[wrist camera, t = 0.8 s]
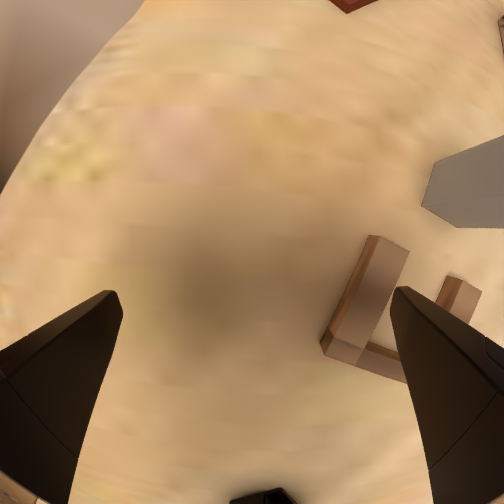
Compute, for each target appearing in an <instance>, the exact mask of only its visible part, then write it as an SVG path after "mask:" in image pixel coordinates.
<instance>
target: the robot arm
mask: <svg viewBox="0 0 504 504" xmlns="http://www.w3.org/2000/svg"><path fill="white" fill-rule="evenodd" d="M390 317H391V321H392V326H393V330H394V335H395V340H396V345H397V350H398V354H399V358H400V361H401V364H402V368H403V371H404V374H405V377H406V381H407V384H408V388H409V391H410V395H411V399H412V402H413V406H414V410H415V414H416V417H417V421H418V426H419V430H420V434H421V438H422V443H423V447H424V452H425V457H426V462H427V467H428V470H429V471H428V473H429V478H430V484H431V490H432V496H433V503H434V504H504V348H502V347H501V346H499V345H498V344H496V343H495V342H493V341H492V340H490V339H489V338H488V337H485V336H484V335H483V334H482V333H480V332H479V331H477V330H476V329H474V328H473V327H471V326H470V325H468V324H467V323H465V322H464V321H462V320H460V319H459V318H457V317H456V316H454V315H453V314H451V313H450V312H448V311H447V310H445V309H443V308H442V307H440V306H439V305H437V304H436V303H434V302H432V301H431V300H429V299H428V298H426V297H425V296H423V295H421V294H420V293H418V292H417V291H415V290H413V289H412V288H410V287H408V286H400V287H396V288H395V290H394V294H393V298H392V302H391V306H390ZM122 318H123V310H122V307H121V304H120V301H119V298H118V295H117V293H116V292H115V291H113V290H104V291H102V292H100V293H98V294H96V295H95V296H93V297H91V298H89V299H88V300H86V301H84V302H82V303H81V304H79V305H77V306H75V307H74V308H72V309H70V310H69V311H67V312H65V313H63V314H62V315H60V316H58V317H57V318H55V319H53V320H52V321H50V322H48V323H46V324H45V325H43V326H41V327H40V328H38V329H36V330H35V331H33V332H31V333H30V334H28V336H25V337H23V338H22V339H20V340H18V341H17V342H15V343H13V344H11V345H10V346H8V347H6V348H5V349H3V350H1V351H0V504H36V502H37V499H40V500H42V501H44V502H46V503H48V504H68V500H69V496H70V491H71V487H72V483H73V479H74V475H75V471H76V467H77V463H78V458H79V455H80V451H81V448H82V444H83V441H84V437H85V434H86V431H87V427H88V424H89V421H90V418H91V415H92V411H93V408H94V405H95V402H96V399H97V396H98V393H99V390H100V387H101V385H102V382H103V379H104V376H105V373H106V371H107V368H108V365H109V362H110V360H111V357H112V354H113V351H114V347H115V343H116V340H117V336H118V332H119V329H120V325H121V321H122ZM279 492H280V493H279ZM229 504H297V503H296V502H295V501H294V500H293V499H292V498H291V497H290V496H289V495H288V494H287V493H286V492H285V491H284V490H283V489H275V490H272V491H268V492H265V493H261V494H257V495H254V496H250V497H246V498H241V499H237V500H233V501H230V502H229Z"/></svg>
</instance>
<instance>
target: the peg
mask: <svg viewBox="0 0 504 504" xmlns="http://www.w3.org/2000/svg"><path fill="white" fill-rule="evenodd" d="M422 207H424V208H425V209H427V210H429V211H431V212H432V213H434V214H436V215H437V216H439V217H441V218H442V219H444V220H445V221H447V222H449V223H450V224H452V225H454V226H455V227H457V228H503V229H504V135H503V136H501V137H498V138H495V139H493V140H490V141H488V142H485V143H483V144H480V145H478V146H475V147H473V148H470V149H468V150H465V151H463V152H460V153H458V154H455V155H453V156H450V157H448V158H445V159H443V160H440V161H438V162H435V164H434V167H433V171H432V174H431V178H430V181H429V184H428V187H427V191H426V194H425V197H424V200H423V203H422Z"/></svg>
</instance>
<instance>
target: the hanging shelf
mask: <svg viewBox="0 0 504 504" xmlns="http://www.w3.org/2000/svg"><path fill="white" fill-rule="evenodd" d="M329 1H331V2H332V3H333V4H335V5H336V6H337V7H338V8H340V9H341V10H342V11H343V12H345V13H346V14H348V13H350V12H352V11H354V10H356V9H359V8H361V7H363V6H365V5H368V4H370V3H372V2H375V1H377V0H329Z"/></svg>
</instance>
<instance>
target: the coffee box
mask: <svg viewBox="0 0 504 504" xmlns="http://www.w3.org/2000/svg"><path fill="white" fill-rule="evenodd" d="M498 24H499V28H500V33H501V38H502V43H503V49H504V16H503V17H502V18H501V19H499V20H498Z"/></svg>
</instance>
